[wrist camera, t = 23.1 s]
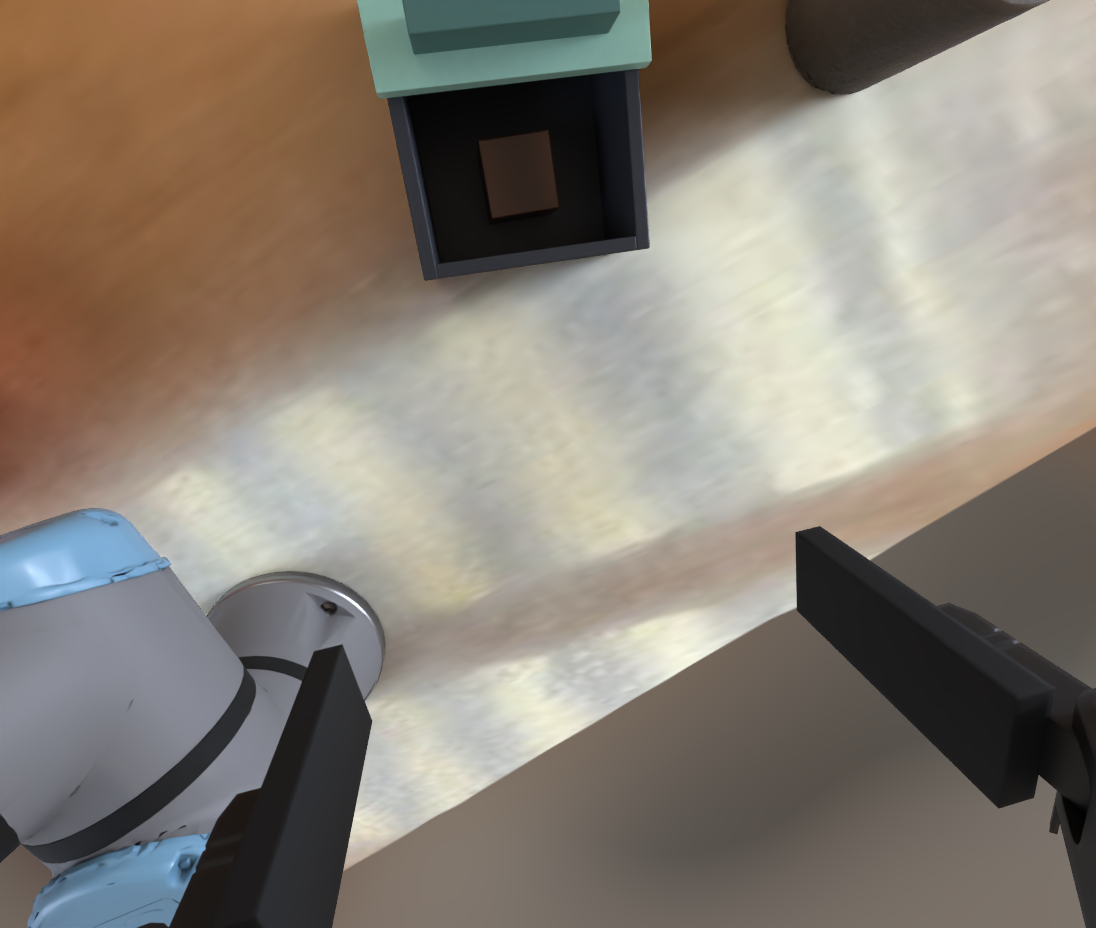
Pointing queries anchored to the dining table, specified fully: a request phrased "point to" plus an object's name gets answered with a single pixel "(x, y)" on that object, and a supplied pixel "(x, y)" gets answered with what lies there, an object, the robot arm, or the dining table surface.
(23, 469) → the dining table surface
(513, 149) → the block
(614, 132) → the bin
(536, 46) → the lid
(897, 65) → the pillar candle
